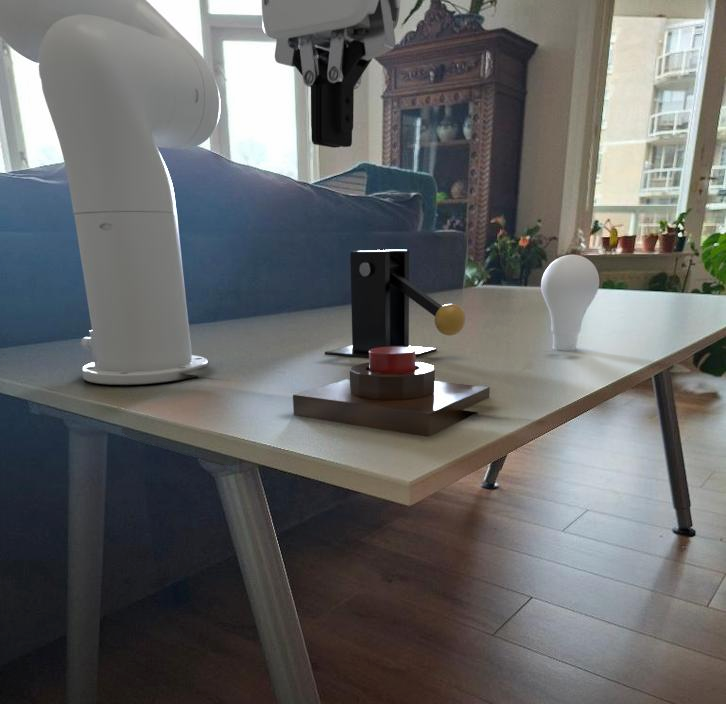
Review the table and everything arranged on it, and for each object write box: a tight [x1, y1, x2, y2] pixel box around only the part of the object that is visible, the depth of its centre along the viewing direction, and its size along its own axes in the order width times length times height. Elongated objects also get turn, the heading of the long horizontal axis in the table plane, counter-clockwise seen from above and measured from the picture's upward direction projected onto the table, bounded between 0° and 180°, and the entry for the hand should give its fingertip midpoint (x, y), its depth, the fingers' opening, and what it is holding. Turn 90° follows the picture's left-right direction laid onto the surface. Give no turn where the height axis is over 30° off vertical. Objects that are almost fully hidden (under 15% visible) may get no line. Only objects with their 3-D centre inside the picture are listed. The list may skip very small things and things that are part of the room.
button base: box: [292, 361, 491, 438], centre depth 52 cm, size 12×10×4 cm
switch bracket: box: [324, 249, 438, 360], centre depth 74 cm, size 10×8×12 cm
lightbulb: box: [540, 254, 600, 352], centre depth 74 cm, size 6×6×11 cm
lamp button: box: [368, 347, 417, 373], centre depth 51 cm, size 4×4×2 cm
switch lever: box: [390, 258, 467, 336], centre depth 71 cm, size 13×3×3 cm, turn 55°
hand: (332, 144), depth 53 cm, fingers closed
